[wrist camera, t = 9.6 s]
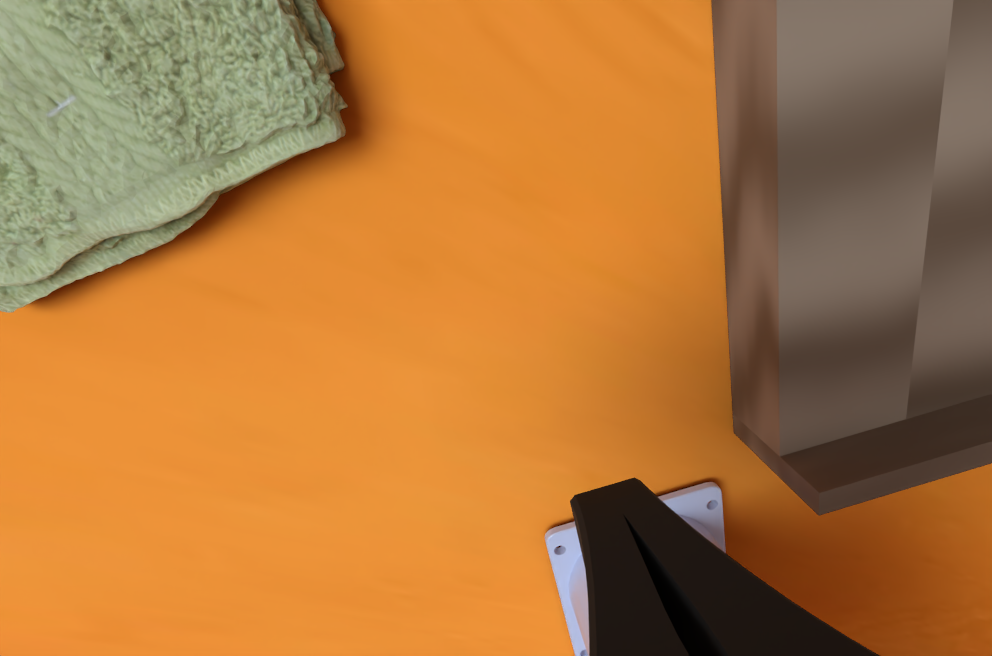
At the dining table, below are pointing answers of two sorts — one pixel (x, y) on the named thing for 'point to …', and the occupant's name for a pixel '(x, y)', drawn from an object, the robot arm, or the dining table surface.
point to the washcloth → (145, 122)
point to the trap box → (858, 238)
